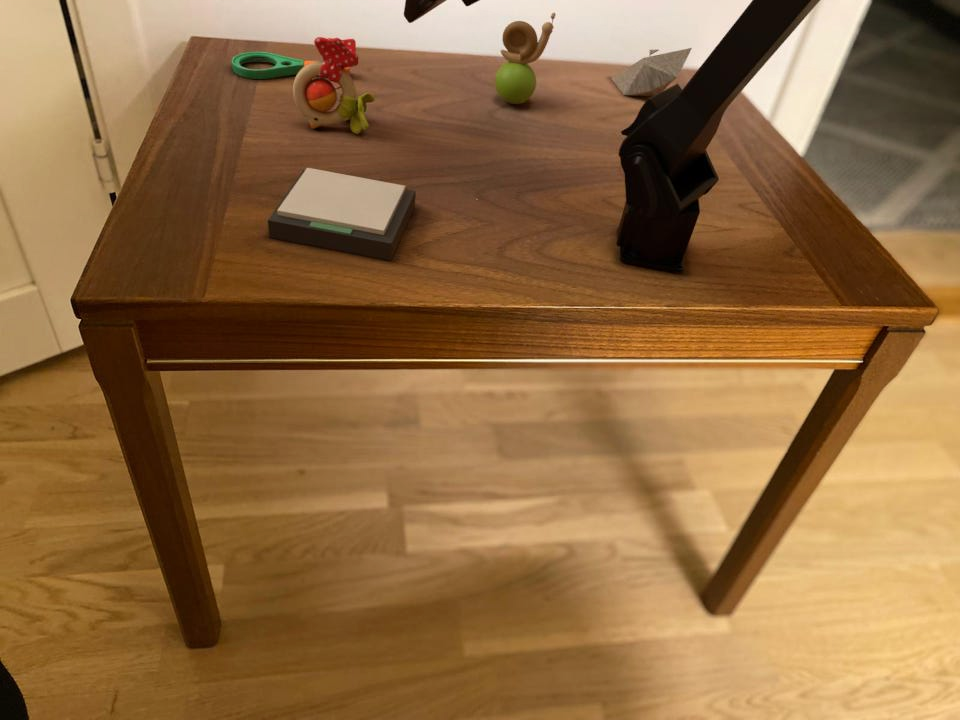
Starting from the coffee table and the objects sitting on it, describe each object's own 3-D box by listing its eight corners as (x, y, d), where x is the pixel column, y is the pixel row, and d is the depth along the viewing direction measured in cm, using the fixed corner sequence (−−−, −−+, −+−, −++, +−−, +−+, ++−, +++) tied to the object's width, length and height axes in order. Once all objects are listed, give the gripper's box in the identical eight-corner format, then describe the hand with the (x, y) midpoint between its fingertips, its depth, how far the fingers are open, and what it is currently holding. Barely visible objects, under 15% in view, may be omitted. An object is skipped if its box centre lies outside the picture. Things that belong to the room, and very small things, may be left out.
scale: (414, 207, 78) (416, 185, 76) (391, 260, 71) (391, 238, 69) (304, 186, 79) (302, 164, 77) (269, 237, 71) (266, 214, 69)
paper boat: (601, 87, 104) (602, 46, 109) (617, 121, 108) (617, 80, 113) (687, 57, 98) (685, 15, 103) (700, 94, 103) (697, 52, 108)
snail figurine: (536, 115, 97) (553, 21, 89) (489, 106, 98) (501, 11, 90) (542, 99, 101) (558, 7, 93) (496, 90, 102) (508, -2, 94)
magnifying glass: (229, 78, 95) (228, 64, 94) (235, 59, 100) (234, 46, 99) (349, 85, 98) (349, 72, 97) (350, 66, 102) (350, 54, 101)
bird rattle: (317, 156, 87) (388, 128, 87) (271, 69, 80) (349, 38, 79) (315, 132, 92) (383, 105, 91) (271, 47, 84) (345, 17, 83)
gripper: (526, -189, 73) (449, -63, 85) (392, -184, 61) (326, -39, 73) (592, -95, 73) (506, 17, 85) (472, -72, 61) (392, 54, 74)
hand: (437, 10), depth 79 cm, fingers open, 9 cm apart
